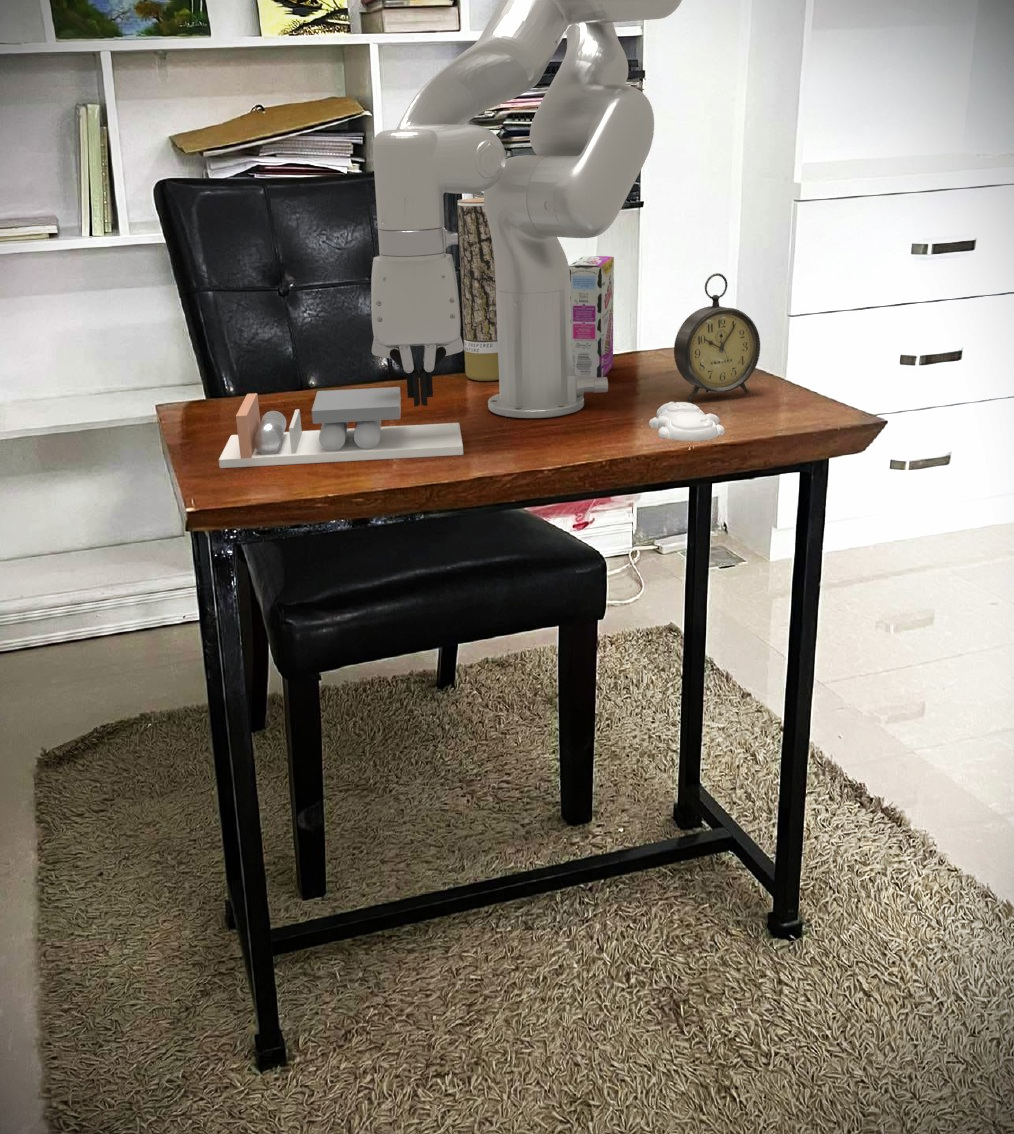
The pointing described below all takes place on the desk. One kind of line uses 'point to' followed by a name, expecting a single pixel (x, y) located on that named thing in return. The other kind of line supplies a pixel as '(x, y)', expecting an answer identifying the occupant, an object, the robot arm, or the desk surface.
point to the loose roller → (270, 433)
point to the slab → (356, 405)
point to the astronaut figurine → (685, 423)
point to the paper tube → (478, 291)
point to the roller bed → (352, 451)
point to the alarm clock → (717, 347)
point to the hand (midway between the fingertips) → (420, 403)
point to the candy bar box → (592, 315)
